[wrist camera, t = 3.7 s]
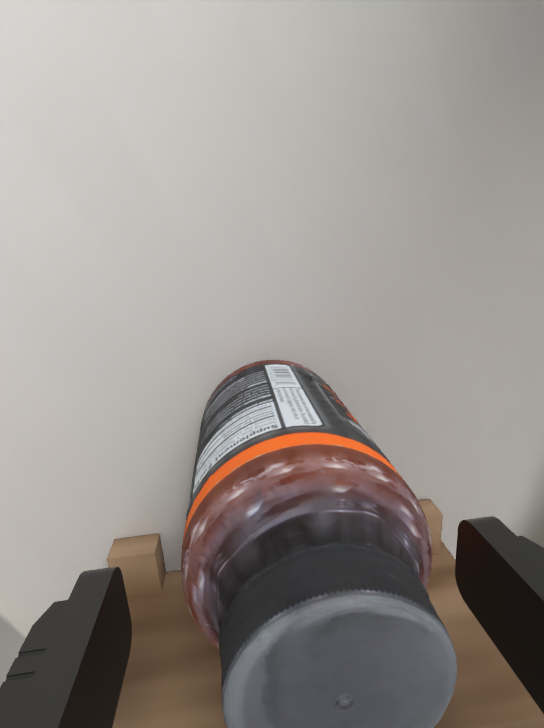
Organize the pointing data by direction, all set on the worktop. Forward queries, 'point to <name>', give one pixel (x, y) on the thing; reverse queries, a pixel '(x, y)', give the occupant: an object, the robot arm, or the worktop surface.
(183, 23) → the worktop surface
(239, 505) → the supplement bottle
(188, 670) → the wooden panel
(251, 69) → the worktop surface
